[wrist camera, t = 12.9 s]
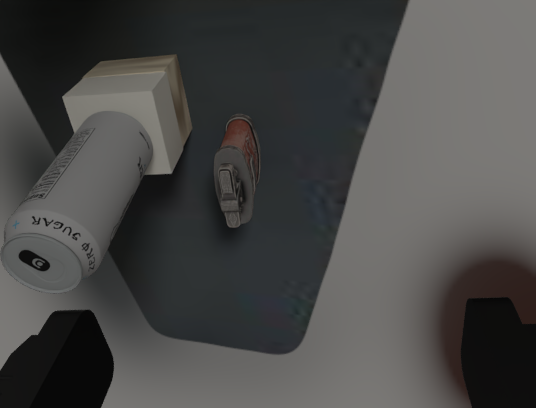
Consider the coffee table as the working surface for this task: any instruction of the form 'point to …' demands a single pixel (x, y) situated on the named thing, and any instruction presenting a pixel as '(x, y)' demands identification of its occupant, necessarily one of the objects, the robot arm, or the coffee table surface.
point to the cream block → (133, 110)
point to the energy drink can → (77, 204)
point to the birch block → (153, 66)
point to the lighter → (237, 170)
